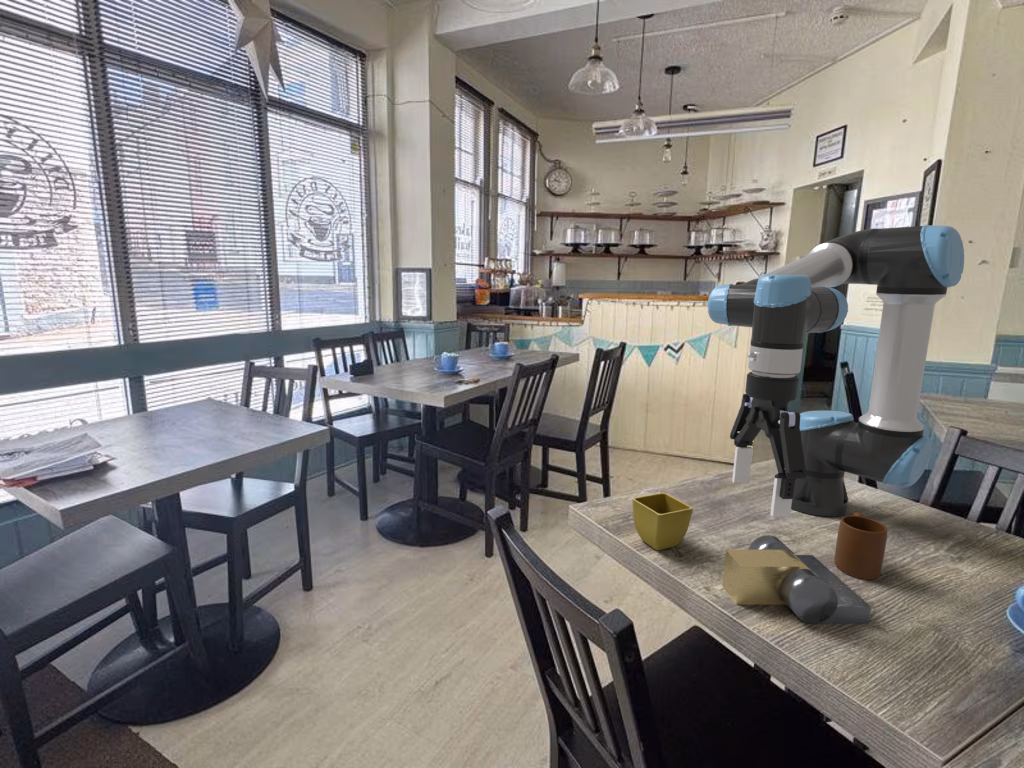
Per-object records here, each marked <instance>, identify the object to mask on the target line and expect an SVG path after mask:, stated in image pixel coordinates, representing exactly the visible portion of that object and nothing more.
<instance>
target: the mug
mask: <svg viewBox="0 0 1024 768" xmlns="http://www.w3.org/2000/svg"><path fill="white" fill-rule="evenodd" d="M887 540H888V528H887V526H886V524H885V525H884V523H882V522H880V521H877V520H875V519H872V518H871V517H865V516H864V514H863V513H862V512H860V511H854V512H853V513H852V515H843V516H842V517H841V519H840V522H839V525H838V530H837V538H836V544H835V550H834V551H835V552H834V557H833V559H834V560H833V562H834V564H835V566H836V568H837V569H838V570H839V571H841V572H842V573H844V574H847V575H849V576H851V577H855V578H858V579H864V580H874V579H876V578H879V576H880V575H881V573H882V568H883V563H884V558H885V552H886V545H887Z"/></svg>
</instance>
